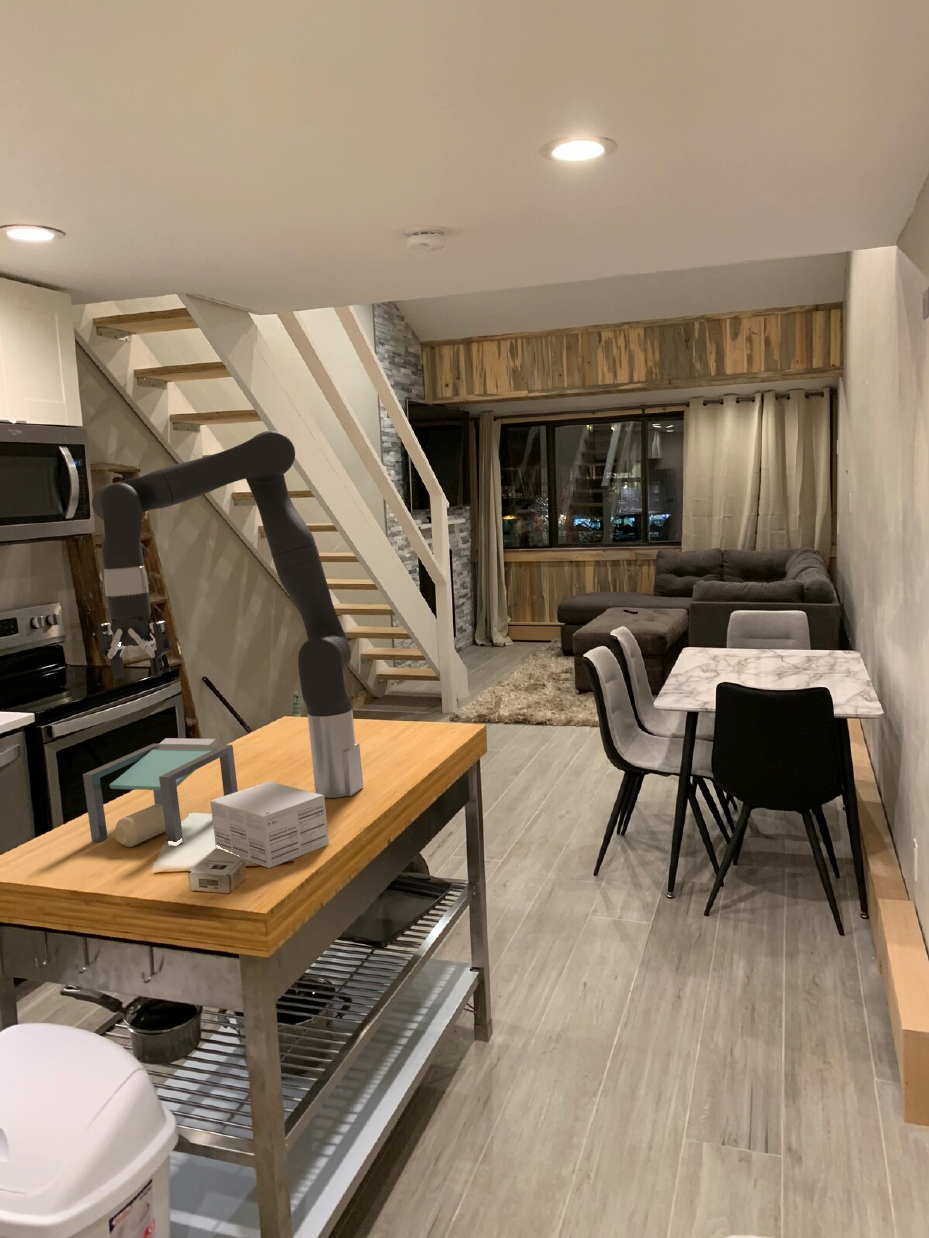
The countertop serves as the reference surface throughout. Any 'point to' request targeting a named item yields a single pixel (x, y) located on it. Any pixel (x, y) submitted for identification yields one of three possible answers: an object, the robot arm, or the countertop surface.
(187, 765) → the frame
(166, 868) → the countertop surface
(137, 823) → the candle
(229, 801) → the supplement box
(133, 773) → the trapdoor
